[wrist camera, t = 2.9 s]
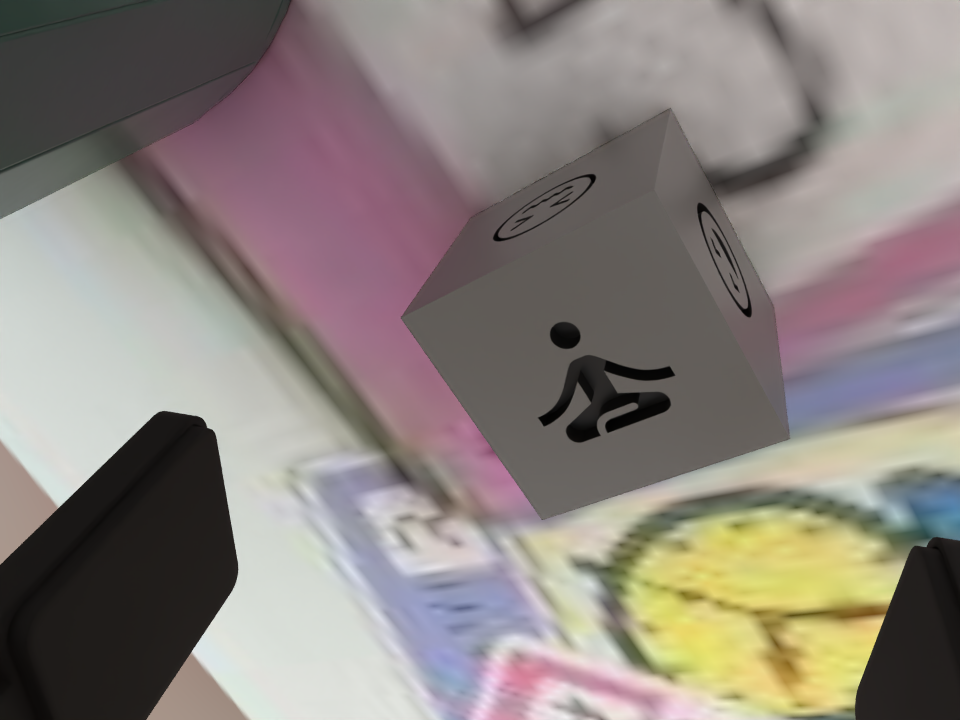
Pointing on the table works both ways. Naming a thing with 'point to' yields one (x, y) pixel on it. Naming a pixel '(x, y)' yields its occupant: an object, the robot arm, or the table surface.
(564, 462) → the dice cube
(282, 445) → the table surface
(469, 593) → the table surface
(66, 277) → the table surface
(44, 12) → the tin
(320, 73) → the table surface
